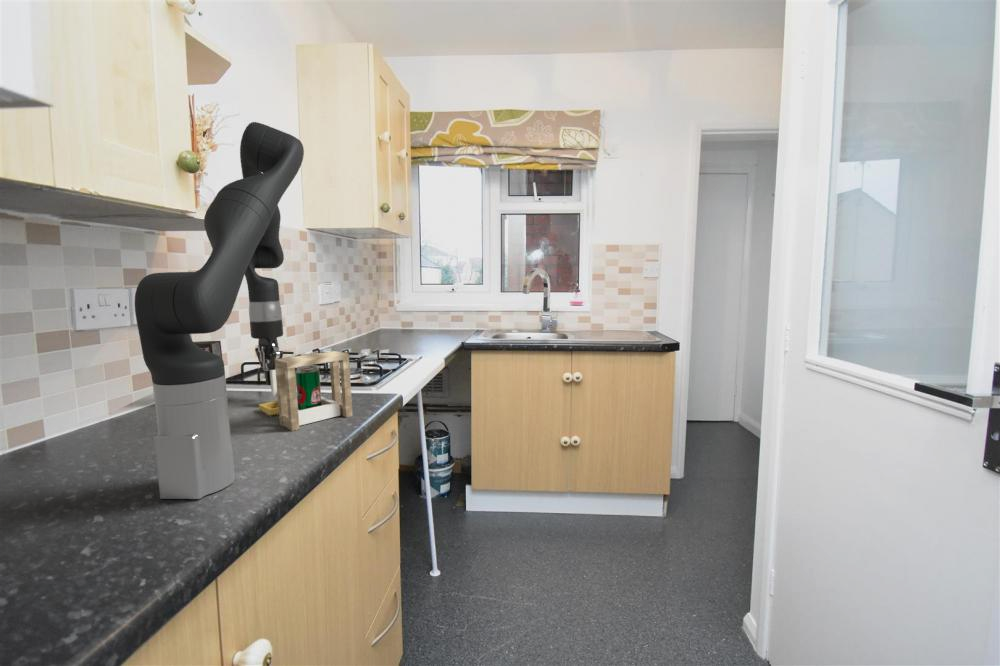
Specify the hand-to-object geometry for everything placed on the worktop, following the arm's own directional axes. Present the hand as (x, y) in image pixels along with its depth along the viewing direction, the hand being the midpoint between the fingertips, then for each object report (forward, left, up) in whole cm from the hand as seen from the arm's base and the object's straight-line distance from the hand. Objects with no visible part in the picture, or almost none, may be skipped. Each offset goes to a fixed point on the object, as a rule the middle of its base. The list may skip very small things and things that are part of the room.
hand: (271, 384), depth 122 cm
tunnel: (-16, -20, -4) cm, 26 cm away
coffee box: (-1, +18, -5) cm, 19 cm away
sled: (-10, -12, -4) cm, 16 cm away
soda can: (-14, -17, -5) cm, 23 cm away
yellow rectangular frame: (-7, -8, -4) cm, 12 cm away
